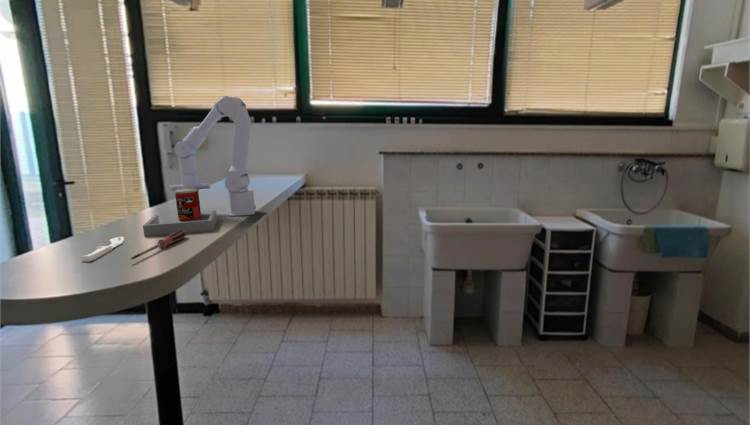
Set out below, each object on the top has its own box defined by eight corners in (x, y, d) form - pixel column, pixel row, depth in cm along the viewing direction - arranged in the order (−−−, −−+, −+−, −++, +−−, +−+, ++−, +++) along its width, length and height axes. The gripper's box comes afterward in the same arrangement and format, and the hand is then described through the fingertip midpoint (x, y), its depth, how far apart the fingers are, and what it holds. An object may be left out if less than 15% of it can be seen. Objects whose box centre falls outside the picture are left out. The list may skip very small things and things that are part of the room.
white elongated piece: (118, 231, 135) (143, 229, 135) (119, 236, 135) (143, 234, 136) (59, 258, 105) (91, 255, 106) (60, 264, 106) (92, 261, 106)
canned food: (173, 220, 150) (169, 191, 148) (189, 215, 157) (185, 187, 155) (190, 221, 148) (187, 191, 145) (205, 216, 155) (202, 188, 153)
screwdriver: (136, 265, 104) (134, 253, 103) (125, 264, 104) (124, 253, 104) (189, 237, 128) (188, 228, 127) (180, 237, 128) (179, 228, 128)
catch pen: (217, 220, 149) (216, 210, 148) (212, 230, 135) (211, 220, 134) (155, 224, 144) (154, 215, 143) (144, 236, 130) (142, 225, 129)
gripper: (209, 171, 162) (213, 204, 166) (170, 173, 159) (174, 207, 162) (207, 173, 156) (211, 208, 159) (166, 175, 152) (171, 210, 155)
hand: (192, 207), depth 160 cm, fingers closed
